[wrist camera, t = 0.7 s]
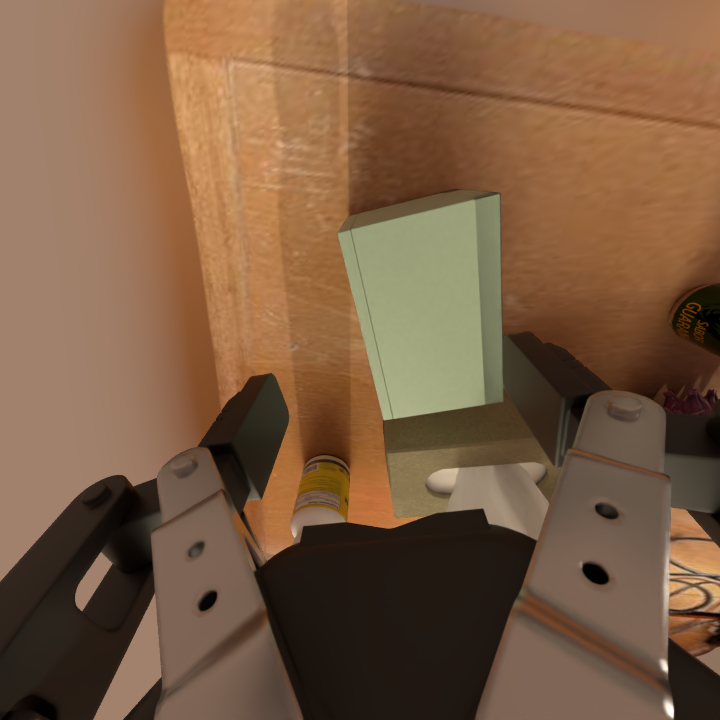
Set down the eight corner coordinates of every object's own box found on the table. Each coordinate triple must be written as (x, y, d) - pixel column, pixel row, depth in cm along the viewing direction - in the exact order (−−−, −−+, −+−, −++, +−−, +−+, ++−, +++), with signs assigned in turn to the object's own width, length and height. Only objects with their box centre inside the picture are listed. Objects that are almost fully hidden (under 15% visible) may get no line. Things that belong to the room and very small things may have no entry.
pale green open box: (348, 215, 27) (336, 232, 18) (456, 188, 26) (500, 192, 17) (380, 358, 33) (383, 421, 25) (467, 342, 32) (503, 401, 23)
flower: (643, 352, 34) (765, 386, 32) (583, 438, 39) (686, 470, 38) (732, 411, 24) (916, 464, 22) (634, 517, 29) (778, 565, 28)
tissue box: (388, 461, 41) (397, 605, 27) (379, 399, 36) (384, 535, 22) (542, 448, 39) (637, 596, 25) (554, 381, 34) (679, 517, 20)
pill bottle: (341, 491, 44) (333, 578, 34) (298, 478, 43) (276, 565, 33) (357, 461, 41) (353, 547, 31) (311, 447, 40) (292, 532, 30)
